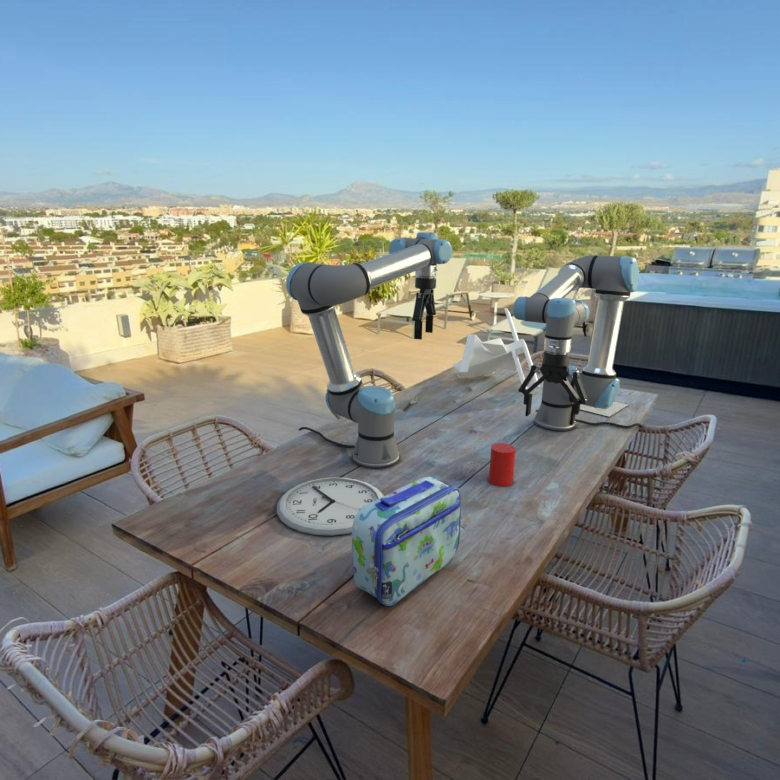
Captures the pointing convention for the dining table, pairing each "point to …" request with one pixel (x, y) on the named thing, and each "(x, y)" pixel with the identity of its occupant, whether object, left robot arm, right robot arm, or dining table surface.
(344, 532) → the wall clock
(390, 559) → the lunch box
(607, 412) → the invitation card
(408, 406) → the fork
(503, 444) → the canister
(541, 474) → the dining table surface
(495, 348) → the white plastic object
